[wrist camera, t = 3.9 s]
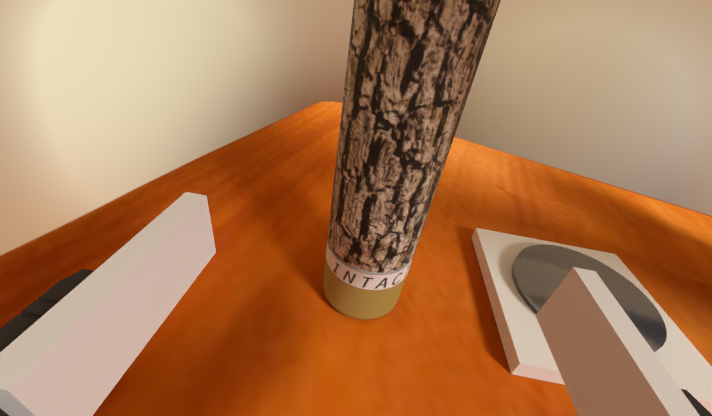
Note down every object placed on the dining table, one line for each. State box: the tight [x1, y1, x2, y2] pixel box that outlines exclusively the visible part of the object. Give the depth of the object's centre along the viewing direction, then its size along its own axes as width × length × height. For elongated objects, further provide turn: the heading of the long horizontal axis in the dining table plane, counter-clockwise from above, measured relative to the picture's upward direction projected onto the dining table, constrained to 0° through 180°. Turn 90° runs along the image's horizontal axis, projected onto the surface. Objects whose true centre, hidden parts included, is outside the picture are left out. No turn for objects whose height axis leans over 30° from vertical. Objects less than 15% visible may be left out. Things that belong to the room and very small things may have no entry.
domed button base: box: [471, 228, 712, 414], centre depth 28 cm, size 16×16×2 cm
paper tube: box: [323, 0, 500, 320], centre depth 20 cm, size 7×7×25 cm
